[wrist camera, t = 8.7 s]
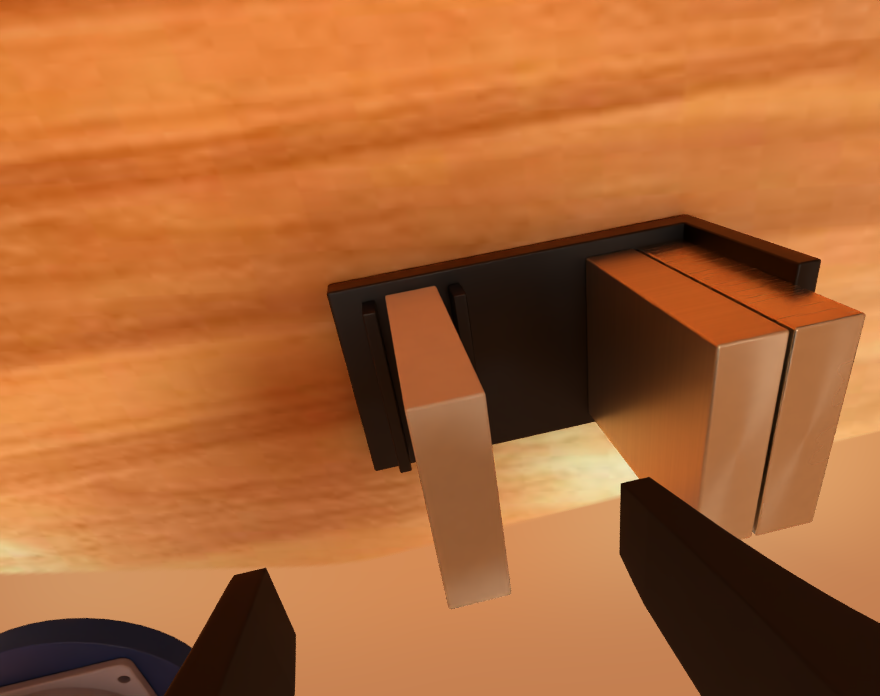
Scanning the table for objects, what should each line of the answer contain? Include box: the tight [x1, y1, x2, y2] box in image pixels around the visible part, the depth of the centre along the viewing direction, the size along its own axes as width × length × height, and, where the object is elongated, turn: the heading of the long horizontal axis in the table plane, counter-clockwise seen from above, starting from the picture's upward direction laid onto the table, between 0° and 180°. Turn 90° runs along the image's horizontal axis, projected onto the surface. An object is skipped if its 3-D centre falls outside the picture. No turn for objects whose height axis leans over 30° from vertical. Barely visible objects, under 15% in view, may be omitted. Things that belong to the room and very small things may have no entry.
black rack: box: [327, 215, 865, 540], centre depth 15 cm, size 12×7×7 cm, turn 99°
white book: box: [385, 286, 511, 609], centre depth 14 cm, size 2×6×6 cm, turn 9°
